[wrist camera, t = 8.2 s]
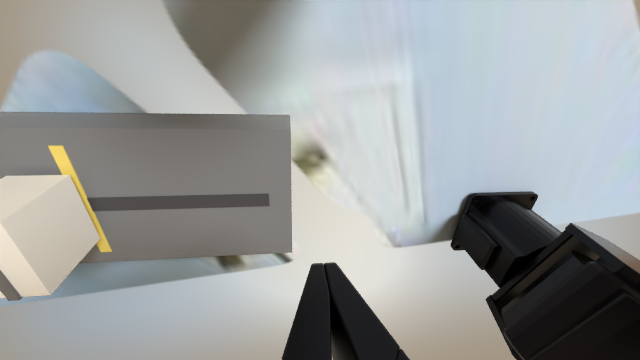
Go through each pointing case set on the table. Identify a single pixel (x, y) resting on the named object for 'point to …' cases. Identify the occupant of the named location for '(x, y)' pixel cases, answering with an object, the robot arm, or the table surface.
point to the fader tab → (41, 233)
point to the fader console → (164, 178)
